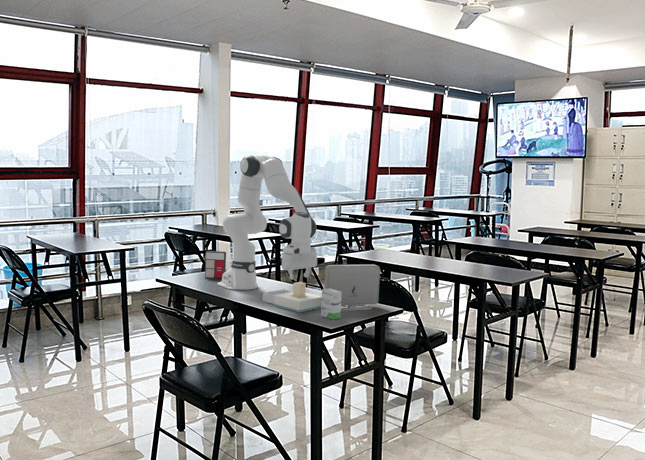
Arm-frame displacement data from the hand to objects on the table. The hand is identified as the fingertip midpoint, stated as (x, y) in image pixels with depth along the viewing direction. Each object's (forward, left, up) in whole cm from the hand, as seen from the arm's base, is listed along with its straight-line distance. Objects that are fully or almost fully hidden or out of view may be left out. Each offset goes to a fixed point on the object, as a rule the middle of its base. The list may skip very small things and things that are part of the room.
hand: (299, 278), depth 272 cm
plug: (0, 0, -12) cm, 12 cm away
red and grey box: (-79, +14, -14) cm, 81 cm away
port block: (0, 0, -13) cm, 13 cm away
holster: (-15, +2, -13) cm, 20 cm away
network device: (+17, +17, -14) cm, 28 cm away
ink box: (+22, -3, -14) cm, 26 cm away
